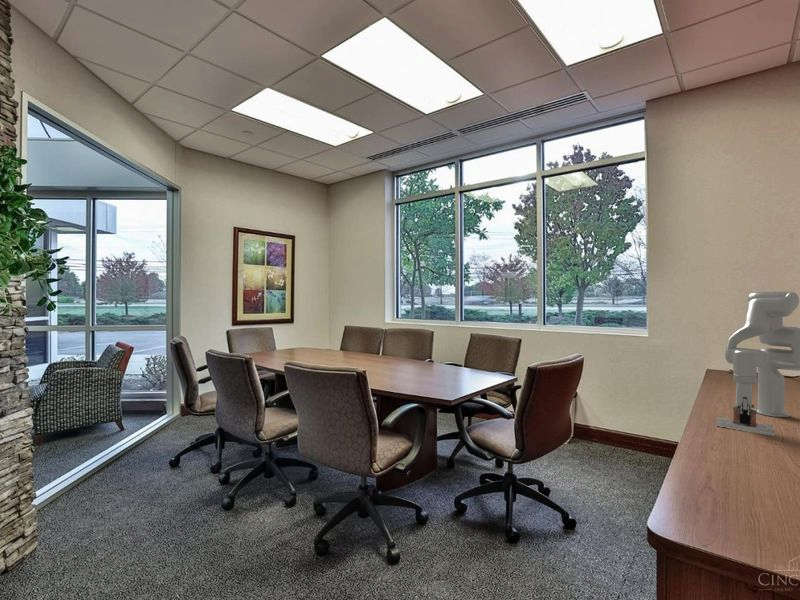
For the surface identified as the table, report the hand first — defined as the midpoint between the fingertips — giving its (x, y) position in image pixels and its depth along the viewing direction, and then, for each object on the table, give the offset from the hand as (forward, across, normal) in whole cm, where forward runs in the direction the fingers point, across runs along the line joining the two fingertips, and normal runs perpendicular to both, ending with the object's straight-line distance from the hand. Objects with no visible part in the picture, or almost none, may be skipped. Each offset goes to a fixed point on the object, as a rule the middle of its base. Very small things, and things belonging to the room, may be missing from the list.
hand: (744, 422), depth 168 cm
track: (+2, 0, 0) cm, 2 cm away
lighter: (+2, 0, 0) cm, 2 cm away
